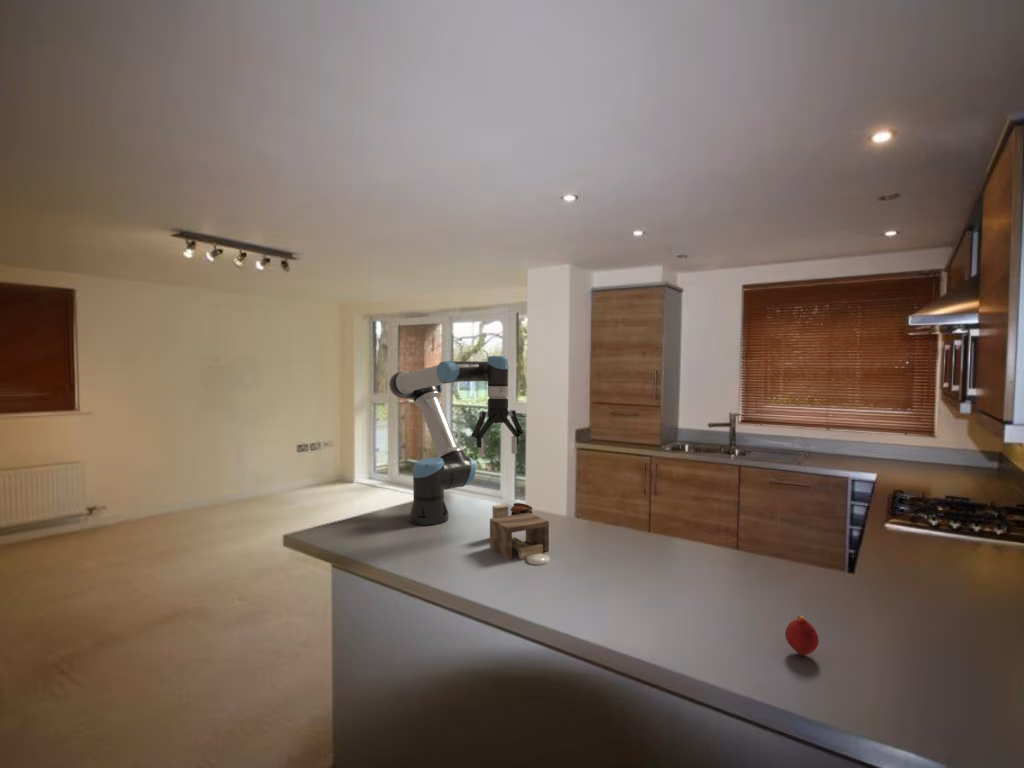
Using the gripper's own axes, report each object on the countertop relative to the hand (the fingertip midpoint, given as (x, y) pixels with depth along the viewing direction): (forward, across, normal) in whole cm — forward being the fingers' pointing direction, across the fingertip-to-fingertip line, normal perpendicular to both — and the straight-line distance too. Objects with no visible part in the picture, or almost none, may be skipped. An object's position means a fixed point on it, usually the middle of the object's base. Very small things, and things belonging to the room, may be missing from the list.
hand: (497, 455), depth 192 cm
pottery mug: (+27, +10, 0) cm, 29 cm away
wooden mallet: (+26, -5, -22) cm, 35 cm away
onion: (+26, +15, -108) cm, 112 cm away
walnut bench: (+26, -5, -26) cm, 37 cm away
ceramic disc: (+27, -5, -37) cm, 46 cm away
